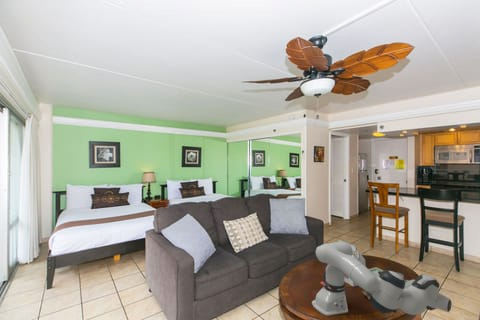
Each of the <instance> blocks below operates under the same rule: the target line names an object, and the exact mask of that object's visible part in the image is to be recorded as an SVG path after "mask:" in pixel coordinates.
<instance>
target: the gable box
mask: <svg viewBox="0 0 480 320" xmlns="http://www.w3.org/2000/svg"><path fill="white" fill-rule="evenodd" d="M338 242H345V241H344V240H342V239H338ZM347 243H348V244H350V246H351V247H352V250H353V254H352V256H353V257H354V258H356V259H357V260H358V261H359V262H361V263H362V264H363V265H364V266H365V267H367V265H366V259H365V258H364V256H363V255H362V254H361V252H360V251H359V250H358V246H356V245H354V244H352V243H349V242H347ZM344 283H345V284H346V283H347V284H348V285H350V286H351V287H354V288H355V287H357V286H358V285H357V284H356V283H355V282H353V281H352V280H351V279H350V278H349V277H348V276H347V275H346V274H345V273H344Z"/></svg>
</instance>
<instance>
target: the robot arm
mask: <svg viewBox="0 0 480 320" xmlns="http://www.w3.org/2000/svg"><path fill="white" fill-rule="evenodd" d="M348 243H349V242H347V241H344V242H339V241H334V242H330V243H324V244H321V245H318V246H317V247H316V249H315V257H317V259H318V261H319V262H320V263H324V264H327V266H326V267H325V280H324V281H321V282H320V285H322V286H323V287H322V288H321V289H320V290H319V291H318V292H317V293H316V296H315V299H313V300H312V301H311V305H312V307H313V308H314V309H315V310H316V311H317V312H319V313H320V314H322V315H324V316H326V317H327V316H334V315H339V314H346V313H349V309H348V306H349V305H348V303H347V297H346V282H345V281H344V273H345V274H346V275H347V276H348V277H349V278H350V279H351V280H352V281H353V282H355V283H356V284H357V286H358V287H359V288H361V289H363V291H367V292H372V294H371V295H370V300H369V302H370V304H371V305H372V306H373V308H375V310H377V311H379V312H380V313H382V314H391V313H394V314H395V313H397V309H399V310H400V311H402V312H403V313H405V314H407V315H412V316H417V315H422V314H423V313H425V311H426V310H428V311H434V310H436V309H438V310H440V311H443V312H446V313H449V312H450V311H451V309H452V303H453V302H452V300H451V299H450V298H449V297H447V296H446V295H444V294H442V293H440V292H439V288H440V283H439V281H438V280H437V279H436V278H435V277H433V276H430V275H427V274H420V275H418V276H417V278H416V279H410V280H408V279H403V278H402V277H401V276H400V275H399V274H397V273H395V272H396V271H392V270H390V269H389V270H388V269H387V270H386V269H385V270H383V271H382V272H380V271H379V272H378V274H379V276H378V275H375V274H374V273H372V272H371V271H370V270H369V269H370V268H368V267H367V266H366V267H365V266H364V265H363V264H362V263H361V262H359V261H358V260H357V259H356V258H354V257H353V256H352V254H353V255H354V251H353V250H352V247H351V246H350V244H351V243H349V244H348Z"/></svg>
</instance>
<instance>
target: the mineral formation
mask: <svg viewBox="0 0 480 320" xmlns="http://www.w3.org/2000/svg"><path fill="white" fill-rule="evenodd" d="M361 293H362V294H363V295H364V296H366V297H367V299H368V300H369V301H370V295H371V294H372V292H367V291H365V290H361Z"/></svg>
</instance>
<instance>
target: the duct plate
mask: <svg viewBox="0 0 480 320" xmlns="http://www.w3.org/2000/svg"><path fill="white" fill-rule="evenodd" d="M368 269H369V270H370V271H371V272H372V273H374V274H375V275H378V276H379V274H378V272H379V271H380V272H382V271H384V270H383V269H381V268H379V267H372V268H368Z"/></svg>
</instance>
